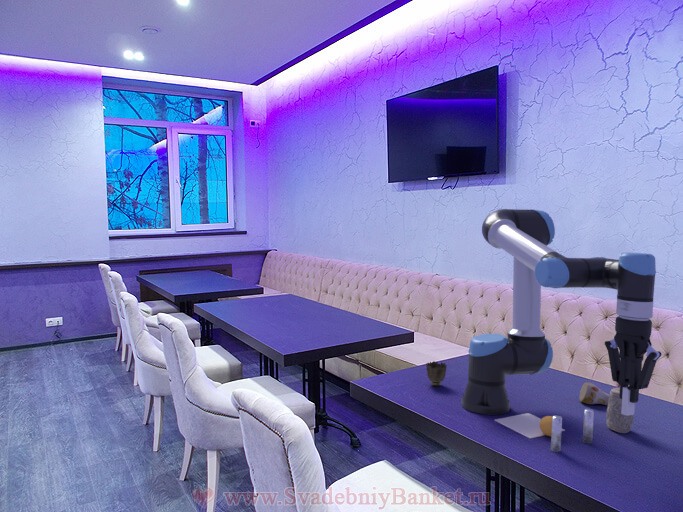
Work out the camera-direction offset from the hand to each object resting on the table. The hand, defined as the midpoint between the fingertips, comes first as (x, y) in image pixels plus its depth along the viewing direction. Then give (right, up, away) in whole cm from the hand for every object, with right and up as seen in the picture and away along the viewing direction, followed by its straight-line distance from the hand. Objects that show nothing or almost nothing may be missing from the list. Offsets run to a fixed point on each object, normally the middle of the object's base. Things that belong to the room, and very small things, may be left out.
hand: (627, 413), depth 120 cm
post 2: (-1, -13, +17) cm, 22 cm away
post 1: (-12, -13, +12) cm, 22 cm away
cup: (-34, -10, +63) cm, 73 cm away
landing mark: (-13, -12, +28) cm, 33 cm away
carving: (+12, -13, +26) cm, 32 cm away
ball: (-10, -10, +21) cm, 25 cm away
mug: (+17, -12, +48) cm, 52 cm away
